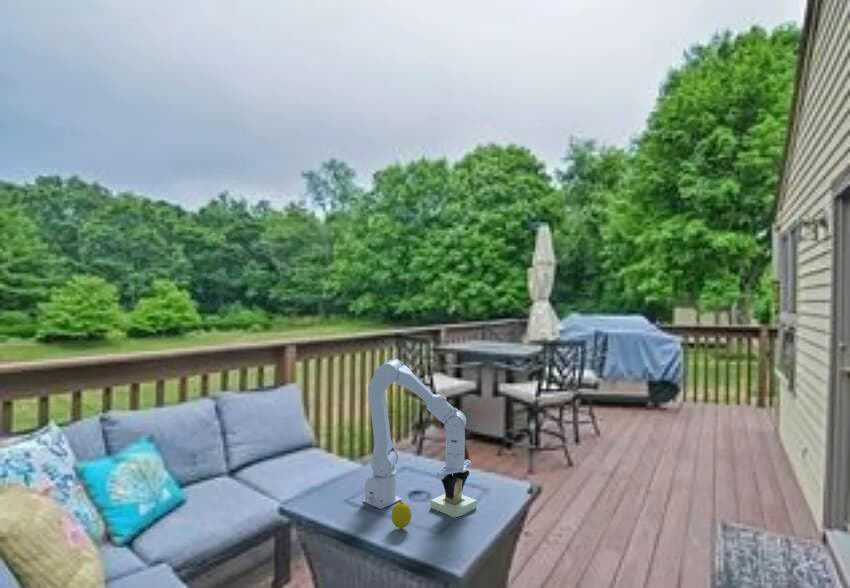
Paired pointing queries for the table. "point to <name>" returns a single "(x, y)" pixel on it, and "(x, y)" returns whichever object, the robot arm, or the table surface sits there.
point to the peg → (456, 493)
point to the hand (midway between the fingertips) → (453, 495)
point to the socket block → (452, 509)
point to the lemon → (401, 515)
